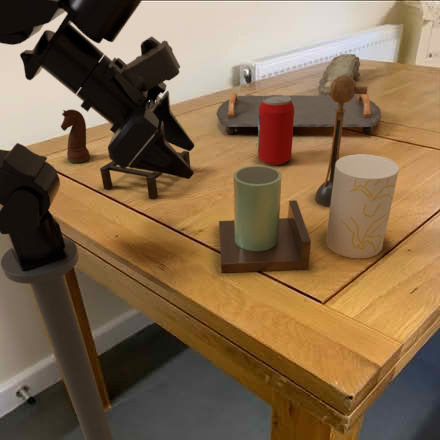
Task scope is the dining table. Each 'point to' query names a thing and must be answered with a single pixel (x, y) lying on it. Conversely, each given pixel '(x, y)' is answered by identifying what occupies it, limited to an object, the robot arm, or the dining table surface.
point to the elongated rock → (339, 71)
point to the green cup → (256, 207)
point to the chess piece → (75, 136)
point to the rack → (149, 176)
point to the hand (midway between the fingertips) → (192, 161)
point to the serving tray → (302, 112)
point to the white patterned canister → (360, 204)
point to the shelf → (272, 258)
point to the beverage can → (275, 129)
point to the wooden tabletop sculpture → (337, 130)
